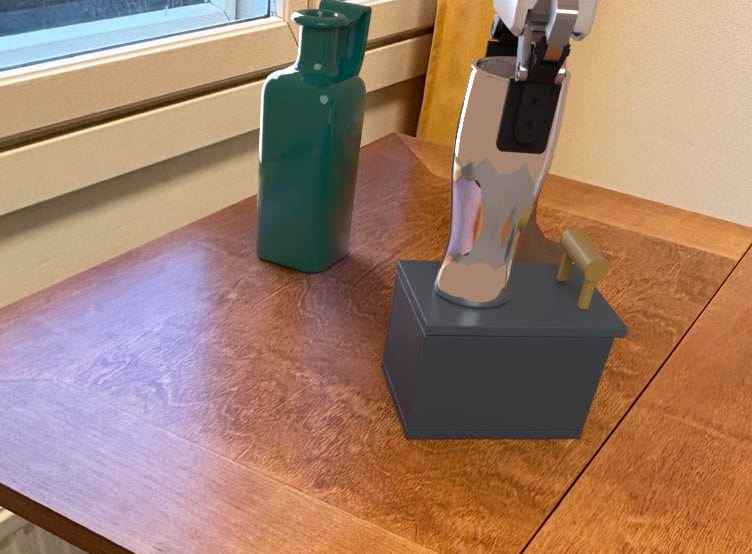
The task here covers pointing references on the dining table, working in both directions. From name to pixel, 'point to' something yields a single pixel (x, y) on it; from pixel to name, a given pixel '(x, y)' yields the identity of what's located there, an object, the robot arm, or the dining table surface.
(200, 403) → the dining table surface
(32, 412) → the dining table surface
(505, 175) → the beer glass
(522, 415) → the chest
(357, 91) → the green bottle
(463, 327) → the lid
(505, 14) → the robot arm
